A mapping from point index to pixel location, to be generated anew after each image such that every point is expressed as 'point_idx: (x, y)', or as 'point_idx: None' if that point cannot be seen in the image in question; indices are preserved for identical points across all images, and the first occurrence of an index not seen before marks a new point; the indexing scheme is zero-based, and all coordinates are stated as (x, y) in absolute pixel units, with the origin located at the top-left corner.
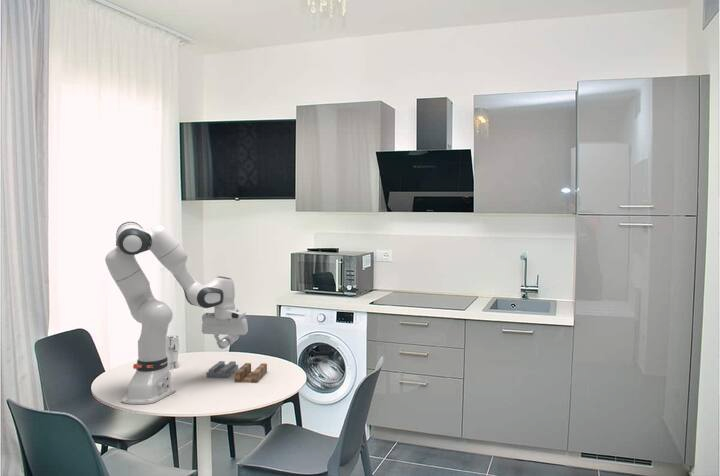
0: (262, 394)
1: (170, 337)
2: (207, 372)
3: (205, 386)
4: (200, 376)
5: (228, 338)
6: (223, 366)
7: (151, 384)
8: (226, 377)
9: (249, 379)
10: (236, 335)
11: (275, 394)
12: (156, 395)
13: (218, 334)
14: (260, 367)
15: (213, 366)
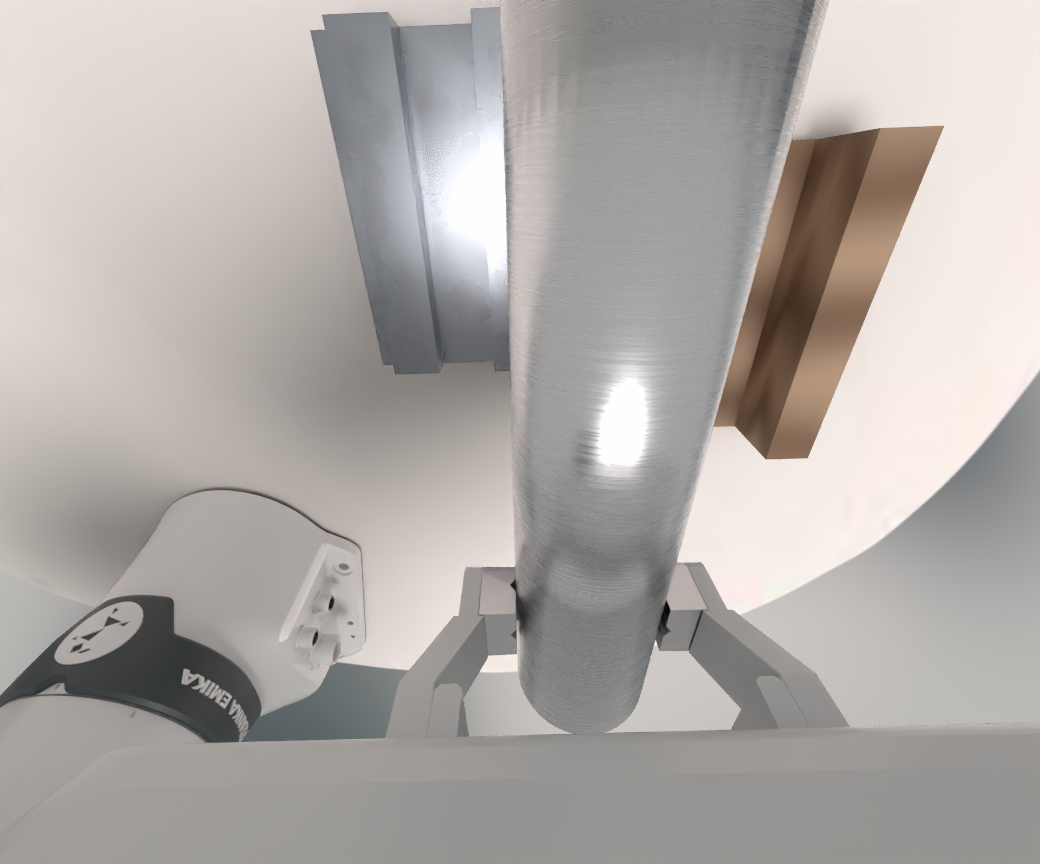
0: (793, 534)
1: None
2: (384, 351)
3: (462, 465)
4: (304, 277)
5: (651, 628)
6: (427, 133)
7: (309, 694)
8: None
9: None
10: (772, 202)
11: (858, 528)
12: (335, 623)
13: (460, 726)
14: (851, 296)
15: (381, 274)
